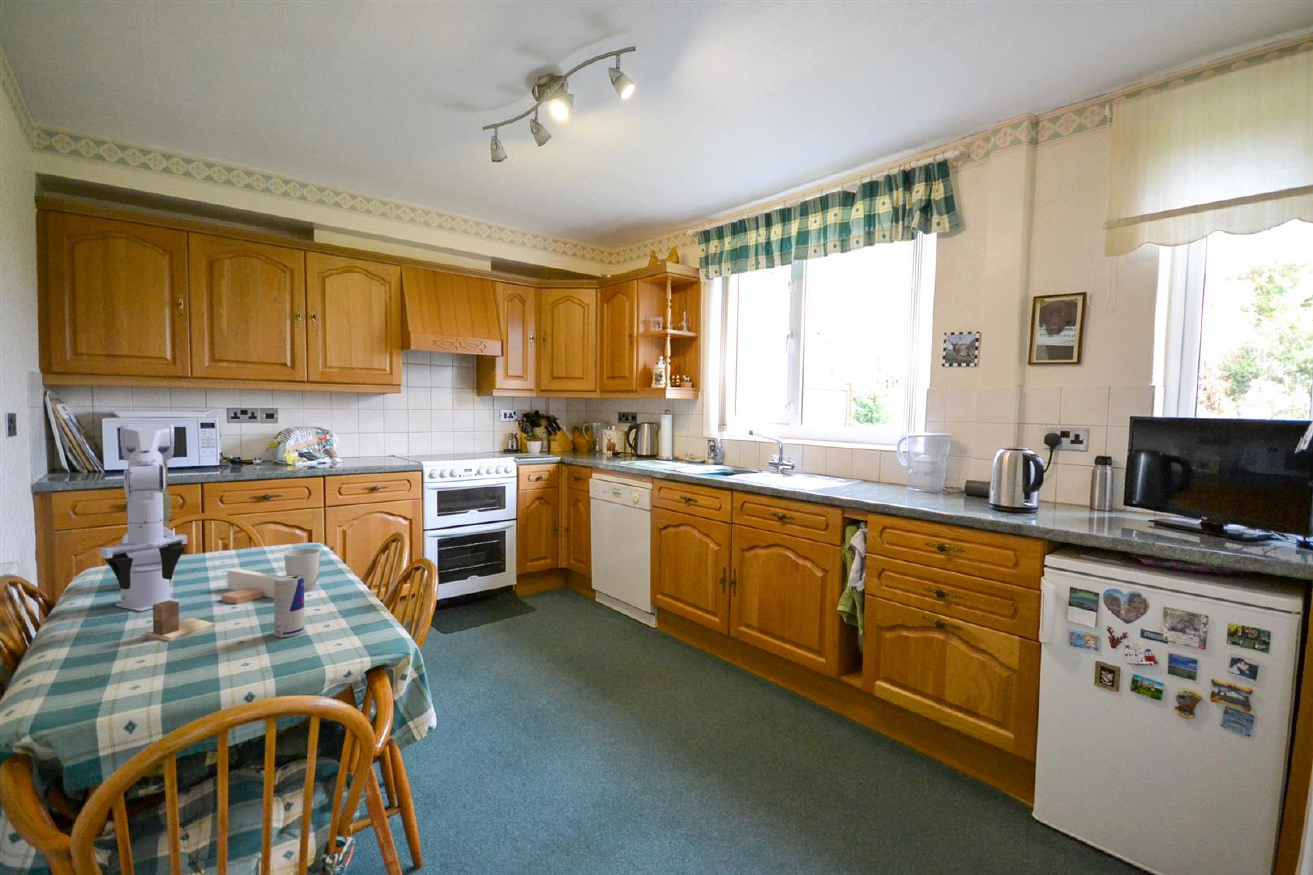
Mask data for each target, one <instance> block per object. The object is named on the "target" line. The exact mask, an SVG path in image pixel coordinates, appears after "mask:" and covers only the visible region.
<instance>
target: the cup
mask: <svg viewBox="0 0 1313 875" xmlns="http://www.w3.org/2000/svg"><path fill="white" fill-rule="evenodd" d="M283 555H284V567H285V575H292V574H299V575H303V578H304V593H305V592H306V593H307V592H310V591H312V590H314V589H315V588H316V583H317V581H318V578H319V572H320V567H321V566H320V563H321V549H320V548H313V547H312V548H310V547H309V548H299V549H292V550H288V551H286V552H285V553H284V554H283Z"/></svg>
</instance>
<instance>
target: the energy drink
mask: <svg viewBox="0 0 1313 875" xmlns="http://www.w3.org/2000/svg"><path fill="white" fill-rule="evenodd" d="M279 576H280V577H278V578H276V579H275V582H274V598H273V604H274V606H273V610H274V612H273V614H274V615H273V616H274V617H273V619H274V620H273V622H274V623H273V625H274V627H273V628H274V630H273V631H274V636H275V637H276V636H277V638H279V637H280V638H281V639H283V638H284V637H287V638H291V637H292V636H293V637H296V636H298V635H301V634H302V633H303V632H304V631H305V592H304V578H303V575H299V574H292V575H287V574H285V575H279ZM300 633H301V634H300Z"/></svg>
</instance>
